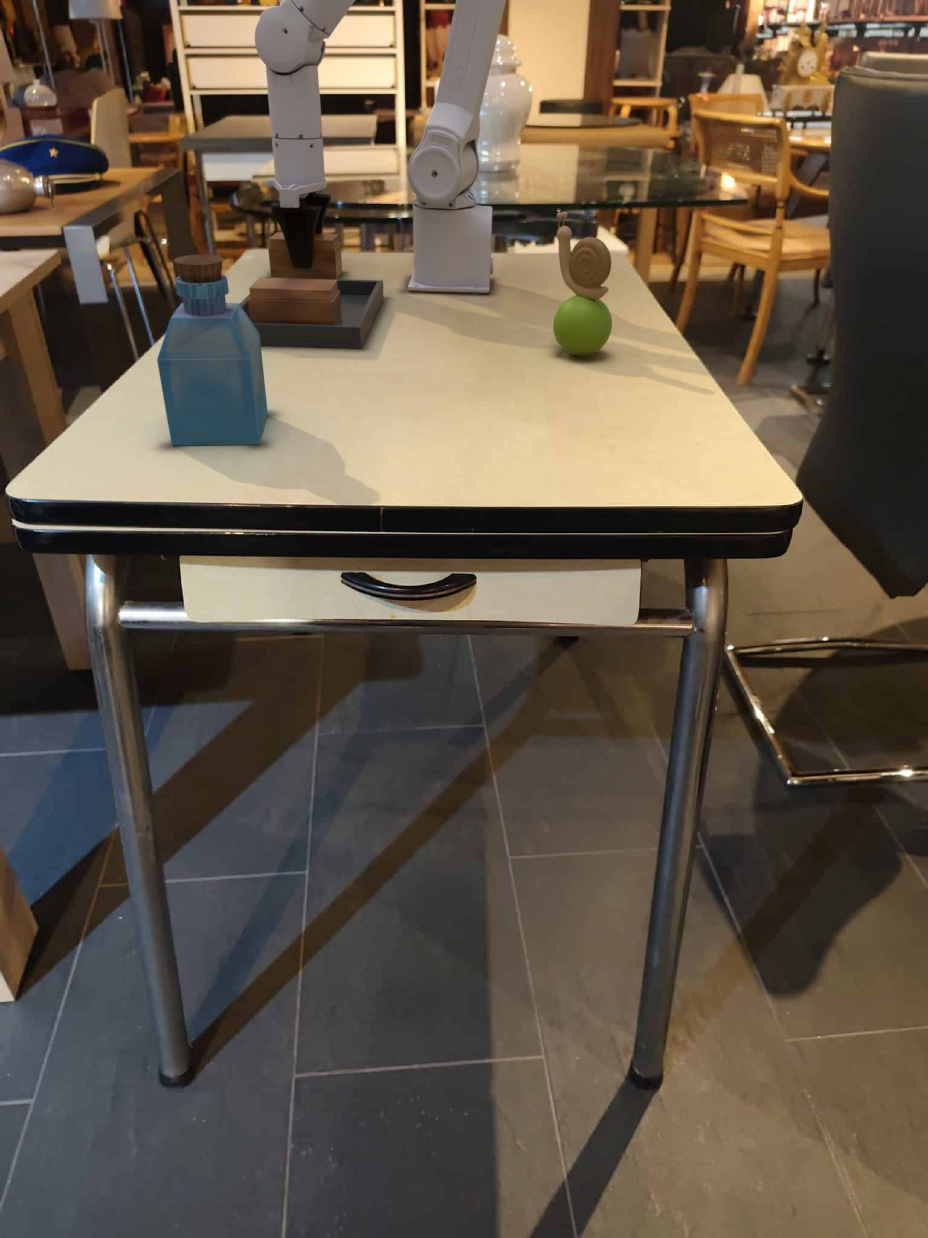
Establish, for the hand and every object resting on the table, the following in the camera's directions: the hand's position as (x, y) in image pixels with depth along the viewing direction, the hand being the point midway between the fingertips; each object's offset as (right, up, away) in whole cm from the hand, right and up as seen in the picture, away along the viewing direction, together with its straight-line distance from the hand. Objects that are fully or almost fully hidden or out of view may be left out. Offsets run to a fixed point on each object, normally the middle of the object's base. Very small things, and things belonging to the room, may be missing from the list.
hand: (306, 263), depth 108 cm
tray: (+3, -12, -16) cm, 20 cm away
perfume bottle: (+1, -29, -42) cm, 51 cm away
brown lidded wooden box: (0, -1, +1) cm, 1 cm away
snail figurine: (+30, -18, -24) cm, 42 cm away
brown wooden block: (+3, -15, -22) cm, 27 cm away
